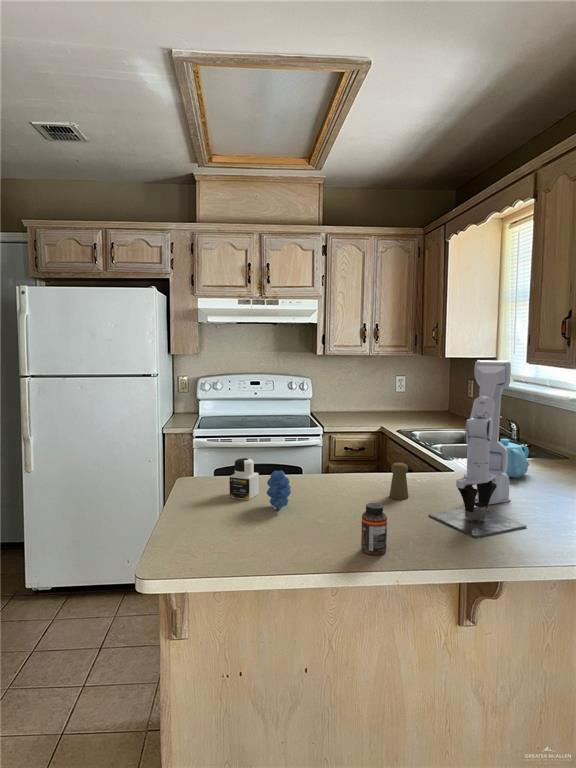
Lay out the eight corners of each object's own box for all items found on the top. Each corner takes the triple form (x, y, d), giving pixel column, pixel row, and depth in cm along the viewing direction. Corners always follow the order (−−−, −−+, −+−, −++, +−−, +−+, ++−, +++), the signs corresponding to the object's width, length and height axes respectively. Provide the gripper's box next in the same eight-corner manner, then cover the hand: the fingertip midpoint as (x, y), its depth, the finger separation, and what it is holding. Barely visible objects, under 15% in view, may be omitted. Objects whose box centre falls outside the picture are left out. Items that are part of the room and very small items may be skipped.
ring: (473, 511, 145) (474, 500, 145) (488, 517, 141) (489, 505, 140) (460, 515, 143) (461, 502, 142) (476, 521, 138) (476, 508, 138)
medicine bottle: (229, 497, 162) (228, 460, 161) (239, 491, 169) (239, 456, 168) (249, 500, 160) (249, 462, 159) (259, 494, 166) (259, 458, 165)
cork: (408, 500, 160) (409, 466, 159) (389, 499, 161) (389, 465, 160) (408, 494, 166) (409, 461, 165) (389, 493, 167) (390, 460, 166)
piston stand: (476, 507, 153) (476, 497, 153) (526, 527, 137) (526, 516, 137) (428, 515, 146) (428, 505, 146) (475, 538, 130) (475, 526, 129)
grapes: (301, 512, 149) (301, 472, 148) (281, 516, 145) (281, 475, 144) (281, 501, 159) (281, 463, 158) (262, 505, 155) (261, 466, 154)
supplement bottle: (358, 546, 125) (359, 501, 124) (382, 545, 125) (383, 500, 124) (364, 556, 119) (365, 509, 118) (389, 555, 119) (390, 508, 118)
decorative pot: (472, 475, 191) (473, 439, 189) (491, 467, 202) (492, 433, 200) (516, 484, 179) (518, 445, 178) (534, 475, 190) (535, 439, 189)
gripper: (483, 455, 147) (482, 501, 148) (448, 461, 140) (446, 509, 141) (504, 460, 141) (503, 508, 142) (468, 467, 134) (467, 517, 135)
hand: (476, 509), depth 141 cm, fingers closed on ring, 5 cm apart
